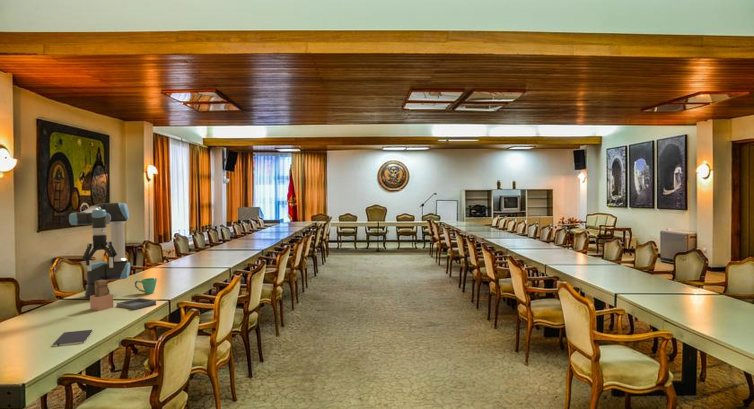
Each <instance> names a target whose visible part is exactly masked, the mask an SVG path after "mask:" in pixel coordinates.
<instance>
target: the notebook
mask: <svg viewBox="0 0 754 409" xmlns="http://www.w3.org/2000/svg"><path fill="white" fill-rule="evenodd" d="M91 332H93V329H85V330H75V331H73V330H72V331H65V332H63V333H62V334H61V335H60V336H59V337H58V338H57V339H56V340H55V341H54V342H53V343H52V346H53V347H61V346H60V345H63V346H69V345H68V344H72V345H77V344H76V343H82V344H84V343H85V342H86V341H87V339H88V338H89V336H90V335H91V334H92V333H91ZM90 333H91V334H90ZM87 337H88V338H87ZM84 341H85V342H84Z"/></svg>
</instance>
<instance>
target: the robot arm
mask: <svg viewBox="0 0 754 409" xmlns="http://www.w3.org/2000/svg"><path fill="white" fill-rule="evenodd" d="M129 218H130V211H129V206H128V205H127V204H126V203H125V202H108V203H107V202H106V203H104V202H102V203H97V204H94V205H91V206H89V207H87V209H85V210H83V211H80V212H72V213H70V214H69V216H68V222H69V224H70V225H71V226H80V225H84V226H85V225H86V226H87V225H92V226H91V228H92V229H91V231H92V232H91V234H92V243H87V246H86V249H85V252H84V254H83V256H82V260H85V265H86V266H87V267H86V280H87V281H86V282H87V286H86V288H85V293H84V297H85V298H87V299H88V298H89V299H90V296H92V295H95V281H98V280H107V281H112V280H115V281H116V280H127V279H128V277H129V276H130V273H131V262H129V261H128V260H129V259H127V258H126V243H125V242H126V241H125V240H126V237H125V234H126V232H125V225H126V223H127V222H128V220H129ZM107 224H110V241H107V240H108V238H107V236H108V235H107ZM101 250H103V251H105V253H107V255H108V256H109V257H108V263H107V262H106V260H105V261H97V262H92V260H91V258H92V257H93V255H94V254H95V253H96V252H97V251H101ZM108 294H111V292H110V289H109V287H108Z"/></svg>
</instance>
